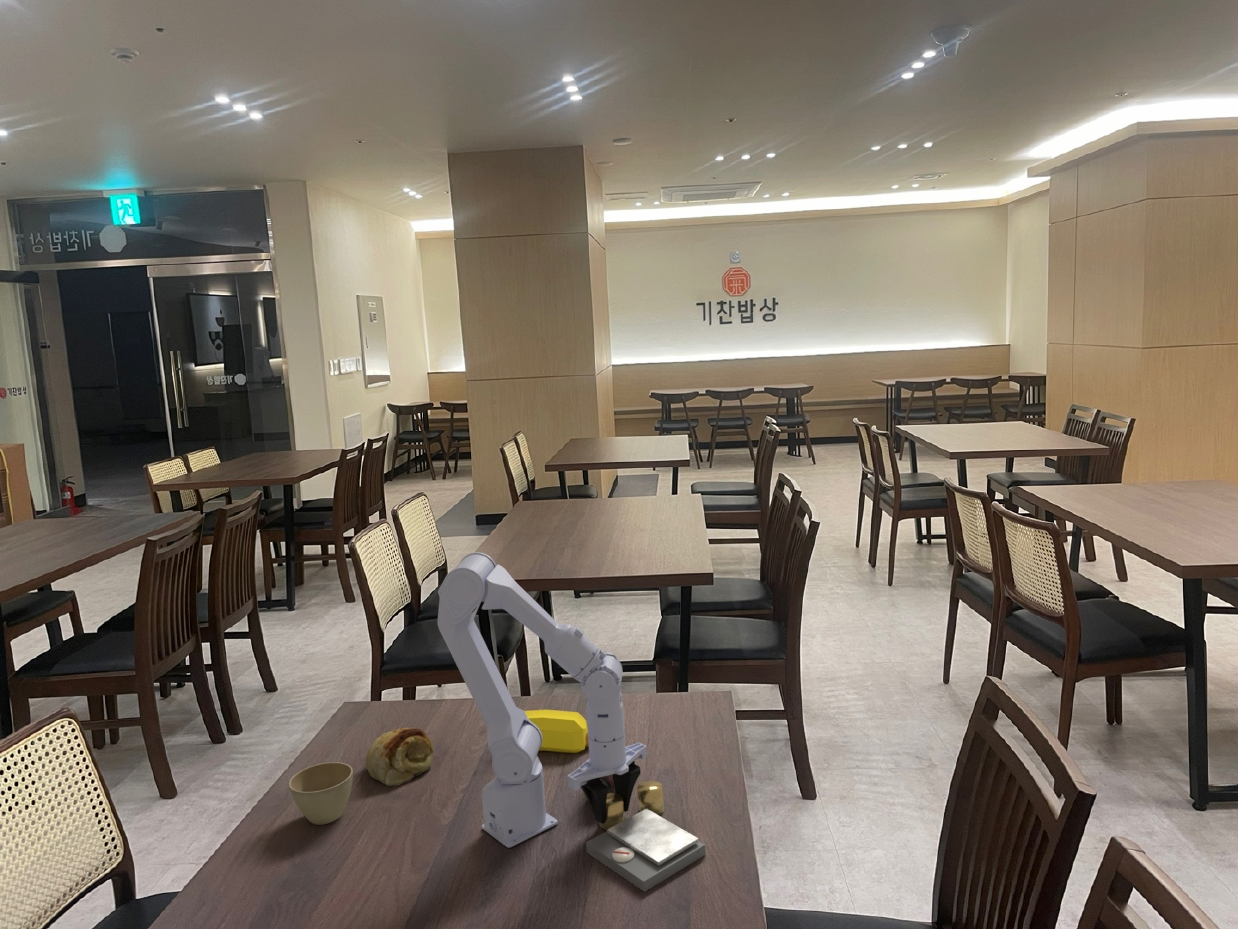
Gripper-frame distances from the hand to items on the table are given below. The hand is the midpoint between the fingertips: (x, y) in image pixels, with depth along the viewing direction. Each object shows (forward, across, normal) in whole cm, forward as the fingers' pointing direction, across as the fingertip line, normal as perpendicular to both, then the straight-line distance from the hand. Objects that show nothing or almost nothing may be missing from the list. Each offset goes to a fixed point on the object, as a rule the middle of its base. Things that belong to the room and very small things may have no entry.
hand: (611, 814), depth 137 cm
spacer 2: (+2, +7, -2) cm, 7 cm away
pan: (0, 0, -9) cm, 9 cm away
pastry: (+2, -15, +42) cm, 45 cm away
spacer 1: (+1, 0, 0) cm, 1 cm away
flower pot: (+2, -32, +36) cm, 48 cm away
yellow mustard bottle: (+2, +8, +29) cm, 30 cm away
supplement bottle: (-1, +10, +11) cm, 15 cm away
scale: (+2, -2, -10) cm, 10 cm away
